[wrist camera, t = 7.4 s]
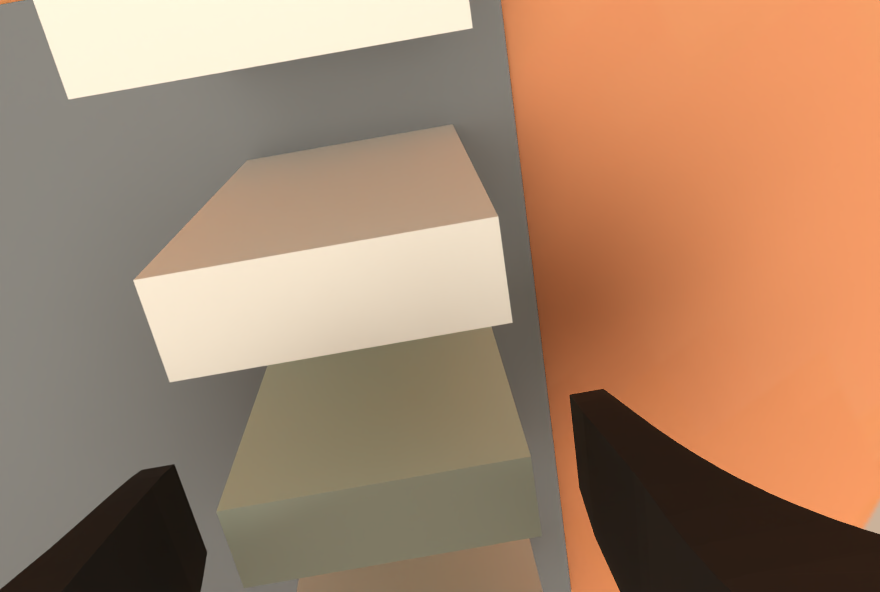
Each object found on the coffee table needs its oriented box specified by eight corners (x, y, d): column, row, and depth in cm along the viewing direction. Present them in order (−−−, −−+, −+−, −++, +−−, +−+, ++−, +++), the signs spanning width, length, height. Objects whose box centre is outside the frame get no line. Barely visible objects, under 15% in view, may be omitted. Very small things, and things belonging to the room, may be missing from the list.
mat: (568, 590, 23) (572, 602, 23) (37, 682, 24) (30, 695, 23) (488, -81, 16) (490, -83, 15) (-303, 60, 16) (-324, 61, 15)
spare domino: (484, 330, 19) (542, 536, 12) (302, 362, 19) (244, 588, 12) (476, 275, 18) (530, 456, 11) (287, 308, 18) (216, 511, 11)
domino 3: (503, 453, 21) (564, 704, 13) (334, 483, 21) (301, 749, 13) (495, 407, 20) (556, 643, 13) (322, 437, 20) (280, 691, 13)
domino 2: (462, 188, 17) (512, 322, 10) (264, 223, 18) (170, 382, 10) (452, 124, 17) (497, 216, 9) (247, 160, 17) (133, 280, 10)
